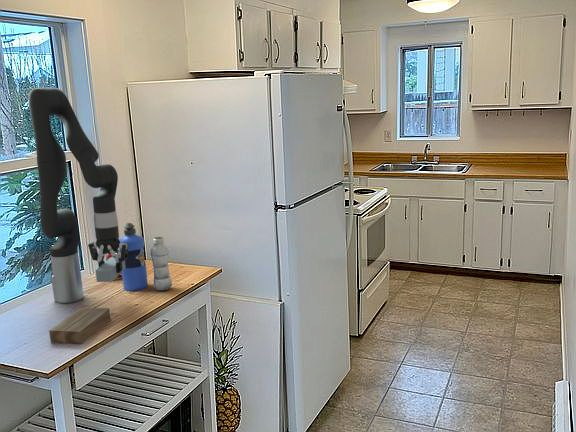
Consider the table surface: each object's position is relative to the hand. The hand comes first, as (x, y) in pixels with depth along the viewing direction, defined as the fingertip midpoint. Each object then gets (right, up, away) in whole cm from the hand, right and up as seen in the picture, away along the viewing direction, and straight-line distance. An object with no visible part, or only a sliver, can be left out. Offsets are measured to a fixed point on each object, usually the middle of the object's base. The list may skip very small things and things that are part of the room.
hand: (111, 272), depth 189 cm
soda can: (-9, -6, +34) cm, 36 cm away
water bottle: (+2, -8, +22) cm, 24 cm away
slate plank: (0, -1, +1) cm, 1 cm away
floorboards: (-4, -17, -16) cm, 24 cm away
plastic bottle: (+14, -9, +18) cm, 24 cm away
